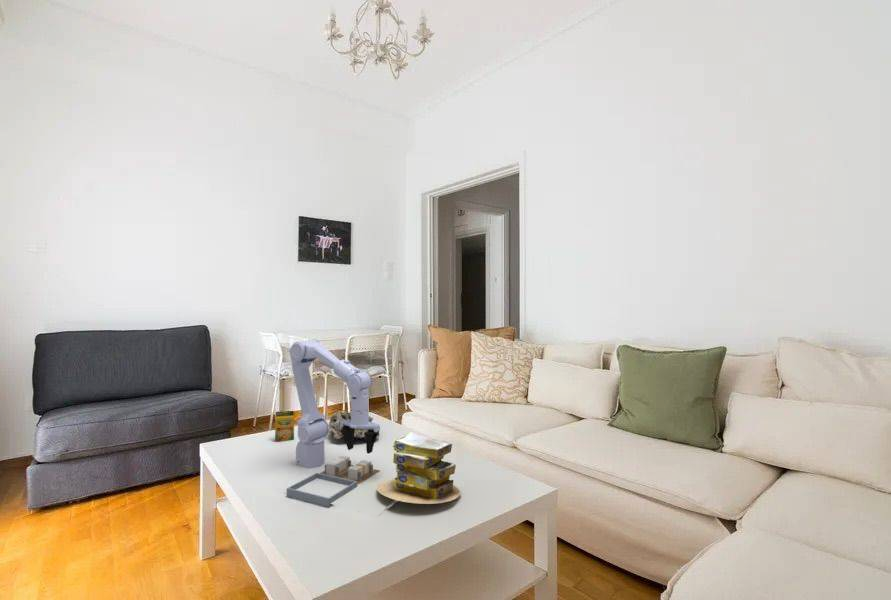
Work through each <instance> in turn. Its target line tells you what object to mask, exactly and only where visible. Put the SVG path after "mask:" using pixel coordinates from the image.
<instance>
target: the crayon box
mask: <svg viewBox="0 0 891 600" xmlns="http://www.w3.org/2000/svg"><path fill="white" fill-rule="evenodd" d="M284 413H286V414H284ZM294 413H295V410H284V411H276V412H275V421H274V423H275V425H274V426H275V427H274V428H275V429H274V432H275V433H274V435H275V436H274V437H275V438H274V441H275V442H284V441H294V440H295V415H294Z"/></svg>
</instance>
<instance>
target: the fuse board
mask: <svg viewBox="0 0 891 600" xmlns="http://www.w3.org/2000/svg"><path fill="white" fill-rule="evenodd" d="M358 463H360V461H359V462H358ZM355 465H356V464H352V460H351V459H350V460H349V461H348V468H349V467H351V466H352V467H353V466H355ZM348 468H347V469H346V468H345V469H344V470H342V471H340V472H339V467H336V475H330V476H334V477H339V478H343V479H348ZM380 472H381V470H379V469H376V468H374V464H372V463H371V465H370V473H367V474H365V475H364V476H362V477H361V471H359V472H358V480H352V479H348V480H352V481H357V485H361V484H362V483H364V482H365V481H367V480H368V479H370V478H371V477H373V476H375V475H376V474H377V473H380ZM320 473H321V474H325V475H329V474H326V464H324V470H323V471H321V472H320Z"/></svg>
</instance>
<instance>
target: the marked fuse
mask: <svg viewBox="0 0 891 600" xmlns="http://www.w3.org/2000/svg"><path fill="white" fill-rule="evenodd" d="M359 462H360V463H359ZM359 462H358V463H356V464H354V465H355V466H353V467H352V466H351V467H349V468H348V479H352V480H358V472H359V471H361V477H362V476H364V475H365V474H367V473H370V465H371V464H372V461H371V460H366V459H362V460H360V461H359Z"/></svg>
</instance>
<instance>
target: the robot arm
mask: <svg viewBox="0 0 891 600" xmlns="http://www.w3.org/2000/svg"><path fill="white" fill-rule="evenodd" d="M289 357H290V359H291V369H292V374H293V378H294V383H295V387H296V392H297V396H298V401H299V406H300V411H301V415H302V416H301V417H300V418H299V420H298V421H297V437H298V440H299V441H298V442H297V444H296V447H295V465H298V466H302V467H304V468H306V469H307V468H308V469H315V468H318V467H322V466H323V465H324V466H325V440H326V439H327V437H326V436H328V435H329V432H330V430H329V422H327V420H326V418H325V417H326V416H325V414H324V413H322V412H320V411H319V407H318V404H317V400H316V394H315V391H314V386H313V382H312V377H311V372H310V366H311V365H312V363H314V362H315V361H316V360H317V359H318V360H319V361H321V362H322V363H324V364H325V365H327V366H329V367H330V368H332V370H333V374H334V375H335V376H337V377H338V378H339V379H340V380H342V381H343V382H344V383H346V387H347V389H348V391H349V392H348V393H349V396H350V413H351V420H341V421H340V427H343V429H341V433H342V434H343V436H342V437H343V438H344V440H345V445H346V447H347V450H348V451H351V450H352V449H354V447H355V446H354V444H355V437H354V433H355V428H357V429H364V430H368V431H367V432H365V433H364V436H365V437H364V439H366V440H365V446H366V448H365V449H366V450H365V451H366V454H370V453H372V452H373V450H374V445H375V441H376V439H377V437H378V436H377V435H378V433H379V434H380V431H381V425H380V424H378V423H375V422H369V414H370V412H369V408H370V407H369V405H370V404H369V401H370V400H369V388H370V387H371V386H372V385H373V384H372V383H373V378H372V376H371V374H370V373H369V372H368V371H367V370H363V371H362V370H360V369H359V368H358V367H356V366H354V365H353V364H352V363H350V360H349V359H341V360H340V359H339V358H338V357H337V356H335V355H334V354H333V353H332V352H331V351H330V350H329V349H327V348H326V347H325V344H324V343H323V342H321V341H320V340H319V339H316V338H315V339H310V340H301V341H294V342H293V343H292V345H291V347H290V348H289Z"/></svg>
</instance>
